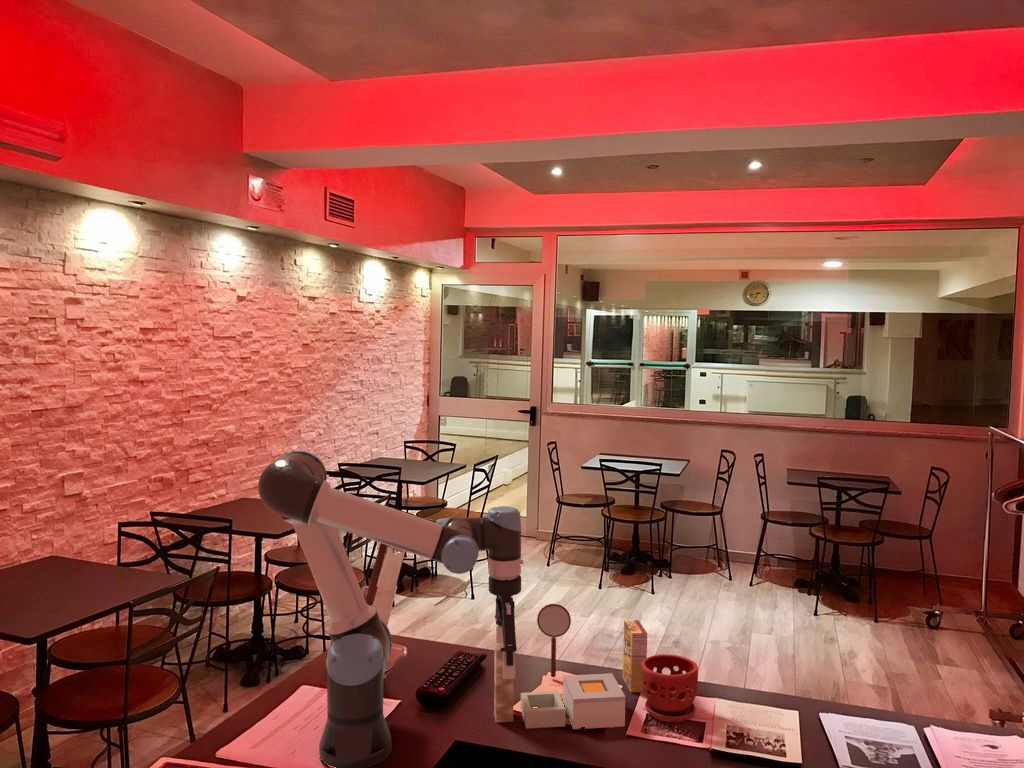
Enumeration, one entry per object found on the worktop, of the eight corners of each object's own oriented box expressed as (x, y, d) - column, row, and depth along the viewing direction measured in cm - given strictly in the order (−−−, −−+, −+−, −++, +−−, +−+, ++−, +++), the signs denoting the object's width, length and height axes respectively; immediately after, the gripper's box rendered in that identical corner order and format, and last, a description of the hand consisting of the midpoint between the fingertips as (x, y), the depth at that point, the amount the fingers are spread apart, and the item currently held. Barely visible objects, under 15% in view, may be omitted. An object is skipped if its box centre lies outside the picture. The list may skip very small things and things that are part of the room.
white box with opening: (573, 729, 177) (573, 699, 176) (562, 703, 188) (563, 675, 188) (624, 726, 178) (625, 696, 178) (611, 701, 190) (611, 673, 189)
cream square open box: (526, 728, 177) (526, 711, 176) (520, 709, 186) (520, 692, 185) (565, 726, 178) (565, 709, 178) (557, 707, 187) (558, 690, 186)
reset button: (585, 705, 180) (585, 693, 180) (580, 695, 185) (580, 683, 185) (606, 704, 181) (606, 692, 181) (601, 694, 186) (601, 682, 186)
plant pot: (701, 706, 188) (703, 658, 187) (690, 732, 176) (691, 680, 175) (648, 695, 193) (649, 648, 192) (633, 719, 181) (634, 669, 180)
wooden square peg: (495, 722, 179) (496, 650, 178) (494, 713, 183) (494, 643, 182) (513, 721, 180) (513, 649, 179) (510, 712, 184) (511, 642, 183)
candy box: (621, 677, 203) (622, 619, 202) (637, 676, 203) (638, 619, 202) (630, 693, 194) (631, 633, 193) (646, 692, 195) (648, 632, 194)
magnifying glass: (570, 679, 202) (571, 603, 200) (569, 682, 200) (571, 605, 199) (536, 677, 202) (537, 602, 201) (536, 680, 201) (537, 604, 199)
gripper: (529, 592, 167) (529, 688, 169) (514, 558, 192) (514, 642, 193) (494, 594, 166) (495, 690, 168) (483, 559, 191) (484, 644, 193)
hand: (505, 665), depth 181 cm, fingers open, 13 cm apart
